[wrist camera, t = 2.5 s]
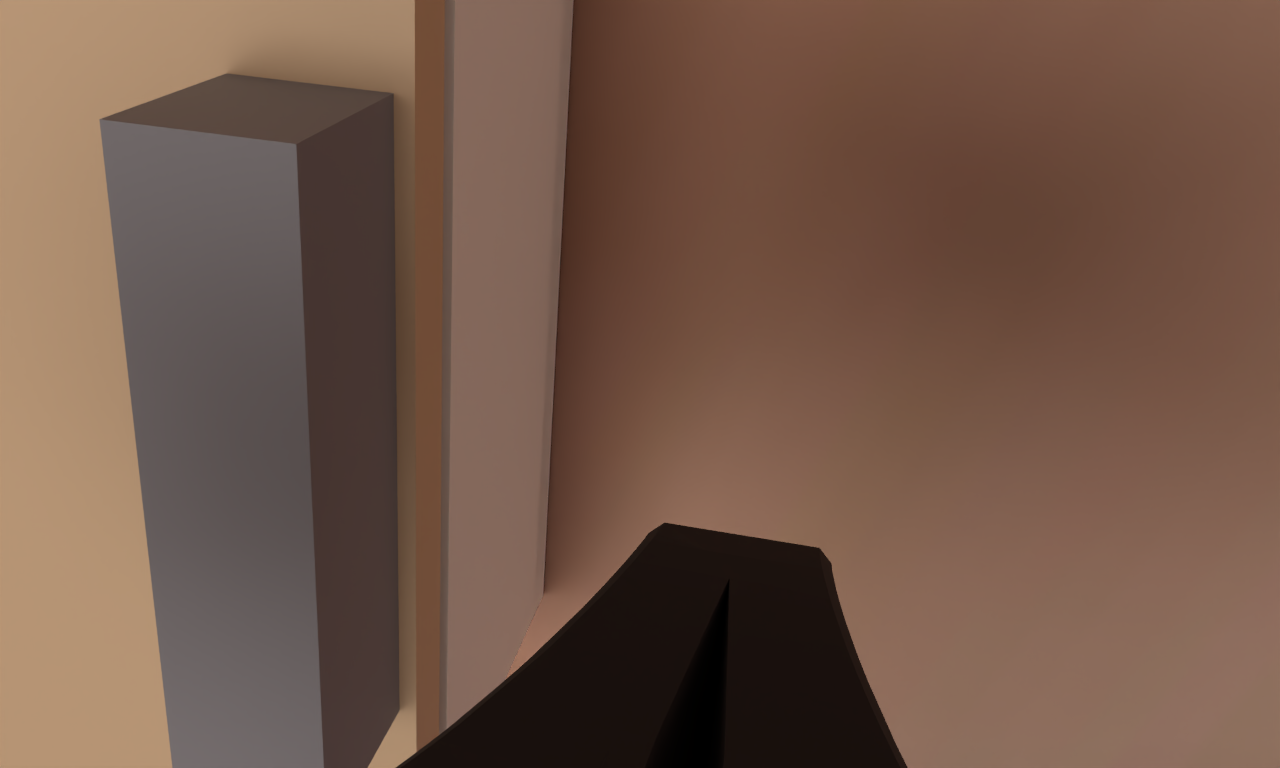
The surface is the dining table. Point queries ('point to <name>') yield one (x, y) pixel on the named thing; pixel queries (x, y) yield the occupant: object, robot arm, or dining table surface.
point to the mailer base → (498, 328)
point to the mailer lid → (220, 382)
